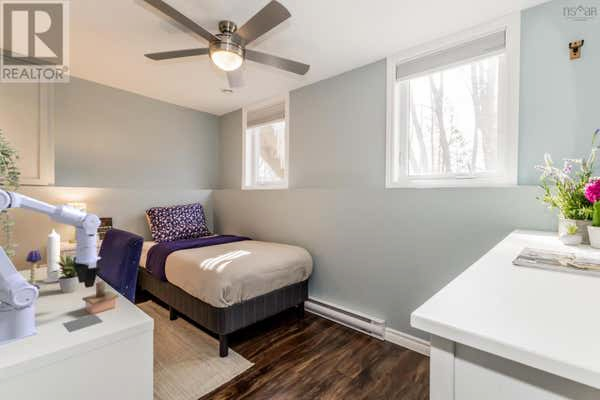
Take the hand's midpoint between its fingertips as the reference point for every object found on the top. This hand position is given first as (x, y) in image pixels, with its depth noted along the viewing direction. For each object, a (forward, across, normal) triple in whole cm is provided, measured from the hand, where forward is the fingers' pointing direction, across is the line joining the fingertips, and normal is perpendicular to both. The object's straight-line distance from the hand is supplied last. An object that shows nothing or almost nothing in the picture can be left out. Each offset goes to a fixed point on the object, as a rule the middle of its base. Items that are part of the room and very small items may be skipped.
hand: (86, 284), depth 94 cm
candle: (+10, +53, 0) cm, 54 cm away
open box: (+10, -2, -4) cm, 11 cm away
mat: (+10, -10, +3) cm, 14 cm away
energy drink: (+10, +44, -8) cm, 46 cm away
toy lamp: (+10, +44, +8) cm, 46 cm away
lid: (+6, -2, -4) cm, 7 cm away
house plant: (+10, +31, 0) cm, 33 cm away
